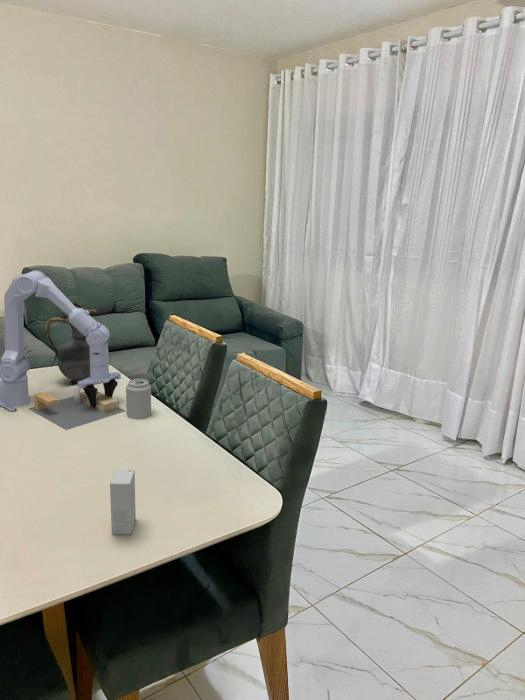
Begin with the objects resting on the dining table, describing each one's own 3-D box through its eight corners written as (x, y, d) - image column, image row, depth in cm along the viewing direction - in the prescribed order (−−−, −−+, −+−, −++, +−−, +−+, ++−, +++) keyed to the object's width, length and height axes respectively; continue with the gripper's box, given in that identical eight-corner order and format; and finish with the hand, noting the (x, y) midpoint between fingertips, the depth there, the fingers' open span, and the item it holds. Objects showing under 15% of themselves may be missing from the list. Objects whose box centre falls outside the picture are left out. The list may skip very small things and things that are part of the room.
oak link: (80, 401, 177) (79, 392, 176) (93, 397, 181) (93, 389, 180) (105, 413, 168) (105, 404, 168) (118, 409, 172) (118, 400, 171)
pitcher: (104, 387, 194) (101, 304, 185) (47, 389, 188) (42, 305, 180) (103, 377, 204) (101, 298, 195) (49, 379, 198) (44, 299, 190)
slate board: (28, 411, 169) (26, 393, 168) (87, 395, 185) (86, 378, 183) (66, 433, 156) (65, 413, 154) (126, 413, 172) (126, 396, 170)
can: (154, 414, 173) (153, 378, 169) (147, 423, 166) (146, 386, 162) (131, 412, 173) (130, 376, 170) (123, 421, 166) (122, 384, 163)
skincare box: (115, 518, 117) (114, 468, 114) (136, 518, 117) (135, 468, 114) (110, 535, 111) (109, 483, 108) (131, 535, 112) (131, 483, 108)
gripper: (86, 372, 162) (87, 413, 166) (126, 362, 173) (126, 402, 177) (73, 366, 167) (75, 407, 170) (113, 357, 177) (114, 396, 181)
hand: (100, 404), depth 174 cm, fingers closed on oak link, 5 cm apart
